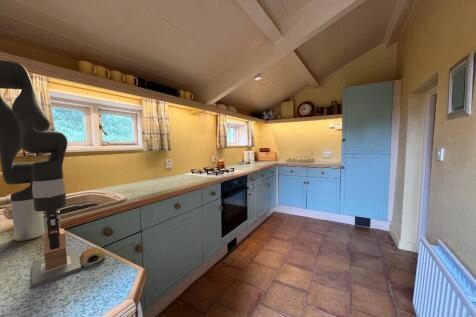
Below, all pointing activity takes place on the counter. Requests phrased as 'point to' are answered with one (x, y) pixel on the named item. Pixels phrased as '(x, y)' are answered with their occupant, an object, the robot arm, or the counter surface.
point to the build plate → (54, 269)
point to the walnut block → (55, 259)
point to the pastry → (91, 257)
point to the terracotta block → (47, 243)
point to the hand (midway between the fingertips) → (54, 245)
